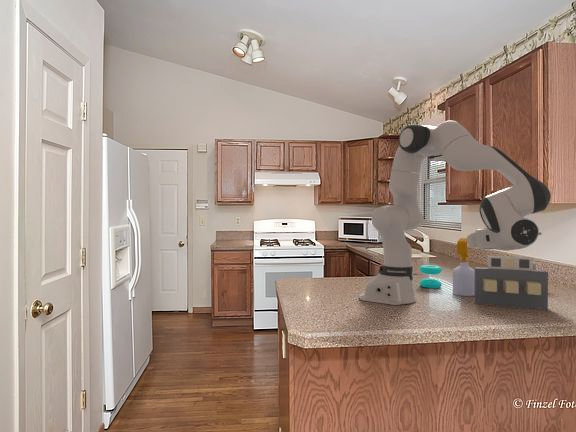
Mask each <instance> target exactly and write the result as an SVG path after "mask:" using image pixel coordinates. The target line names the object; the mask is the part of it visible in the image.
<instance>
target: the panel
mask: <svg viewBox="0 0 576 432" xmlns="http://www.w3.org/2000/svg"><path fill="white" fill-rule="evenodd" d="M533 262H534V257H532V256H531V257H530V256H509V255H508V256H506V255H487V267H479V266H477V267H474V270H475V295H474V299H473V300H474V304H475V305H476V304H477V305H488V306H489V305H490V306H498V307H499V306H500V307H510V308H511V307H512V308H523V309H537V310H549V309H548V308H549V302H548V301H549V271H547V270H541V269H540V270H538V269H536V270H533ZM483 278H490V279H495V280H496V281H497V292H490V291H485V290H484V289H483ZM503 279H507V280H516V281H517V282H518V283H519V294H518V293H506V292H505V291H504V290H503ZM525 281H537V282H539V283H540V284H541V295H532V294H527V293H526V292H525Z"/></svg>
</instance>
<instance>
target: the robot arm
mask: <svg viewBox="0 0 576 432" xmlns="http://www.w3.org/2000/svg"><path fill="white" fill-rule="evenodd" d="M398 145H399V146H398V148H397V149H396V152H395V155H394V156H393V157H394V158H393V161H392V165H391V170H390V171H391V172H390V177H389V184H388V190H389V192H390V193H391V196H392V198H393V205H392V204H387V205H383V206H380V207H377V208H375V209H374V211H373V212H372V215H371V225H372V226H373V228H374V229H375V230H376V231H377V232H378V234H379V237H380V239H381V244H382V246H383V247H382V248H383V264H379V266H378V274H377V275H375V276H374V277H372V278H371V279H370V280H369V281H368V282H367V283H366V284H365V288H364V291H363V292H362V293H360V294H359V297H358V299H359V300H360V301H364V302H370V303H378V304H384V305H385V304H386V305H393V306H400V305H406V304H413V303H416V302H417V300H416V297H415V292H414V287H413V286H414V284H413V279H414V267H413V264H412V263H413V261H412V260H413V259H412V257H413V252H412V250H413V247H412V246H411V245H410V243H408V241H407V238H406V235H405V232H411V231H414V230H416V229H419V228H420V227H421V225H422V223H423V220H424V217H423V213H422V211H421V210H420V208H419V203H418V202H419V201H418V187H419V181H420V175H421V170H422V169H421V167H422V162H423V161H424V160H425V159H426V158H427V159H429V160H433V159H435V158H439V157H443V159H444V161H445V162H446V163H447V164H448V166H450V168H452V169H453V170H455V171H460V172H473V171H482V170H483V171H484V170H491V171H496V172H498V173H499V174H501V175H502V176H503V177H504V178H505V179H506V180H508V182H510V183H511V184H512V185H511V186H509V187H506V188H504V189H501V190H498V191H496V192H494V193H492V194H489V195H486V196H485V197H482V199H481V201H480V205H479V215H480V218H481V221H482V222H483V224H484V225H485V227H483V228H478V229H476V230H475V232H472V233H469V234H468V235H467V236H466V238H467V243H468V244H467V247H469V248H476V249H477V248H478V250H498V251H506V252H507V251H513V250H521V249H522V250H523V249H525V248H528V247H530V246H531V245H533V244H534V243H535V242H536V241H537V240H538V237H539V236H542V232H541V231H540V230H539V226H538V225H537V223H536V222H535V221H534V220H531V219H529V218H526V217H527V216H529V215H531V214H532V215H533V214H537V213H539V212H543V211H545V210H546V209H547V207H548V206H549V205H550V202H551V198H552V194H551V192H550V189H549V188H548V187H547V185H546V184H545V183H543V182H542V181H541V180H539V179H537V178H536V177H534V176H532V175H531V174H530V173H528V171H526V170H525V169H524V168H522V167H521V166H520V165H519V164H518V163H517V162H516V161H514V160H513V159H512V158H511V157H509V156H508V155H507V154H506V153H504V152H503V151H502V150H500V149H499V148H497V147H496V146H491V145H486V144H483V143H482V142H479V141H477V139H475V138H474V137H473V136H472V134H471V132H469V131H468V130H467V128H465V127H464V126H463V125H462V124H460V123H459V122H458V121H456V120H446V121H443V122H441V123H440V124H438V126H433V125H422V124H418V123H417V124H409V125H406V126H404V127H403V128H402V130H401V131H400V133H399V137H398Z"/></svg>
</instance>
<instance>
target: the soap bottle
mask: <svg viewBox="0 0 576 432" xmlns="http://www.w3.org/2000/svg"><path fill="white" fill-rule="evenodd" d="M456 255H458V256H460V258H461V259H460V260H459V265H458V266H457V267H455V268H453V271H452V294H454V295H455V296H459V297H473V296H474V295H475V269H474V268H472V267H471V266H470V265H469V260H467V258H469V257H468V256H471V253H468V243H467V237H466V238H464V237H463V238H462V237H460V238H459V239H458V240H457V244H456Z"/></svg>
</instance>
